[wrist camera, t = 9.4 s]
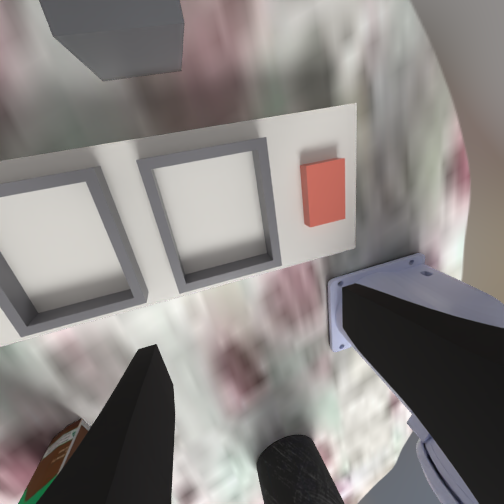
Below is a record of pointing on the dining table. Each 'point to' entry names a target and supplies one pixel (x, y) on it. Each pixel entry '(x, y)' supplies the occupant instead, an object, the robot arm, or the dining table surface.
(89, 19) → the block
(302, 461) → the travel mug
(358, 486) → the dining table surface
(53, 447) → the food container
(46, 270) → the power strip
